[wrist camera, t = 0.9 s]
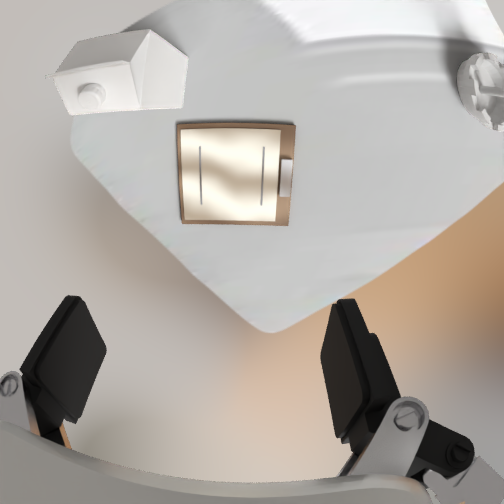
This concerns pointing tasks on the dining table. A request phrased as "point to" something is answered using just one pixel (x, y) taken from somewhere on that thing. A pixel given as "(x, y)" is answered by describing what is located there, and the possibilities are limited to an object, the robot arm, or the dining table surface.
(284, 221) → the clipboard
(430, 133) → the dining table surface
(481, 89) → the flag stand
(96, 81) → the milk carton
